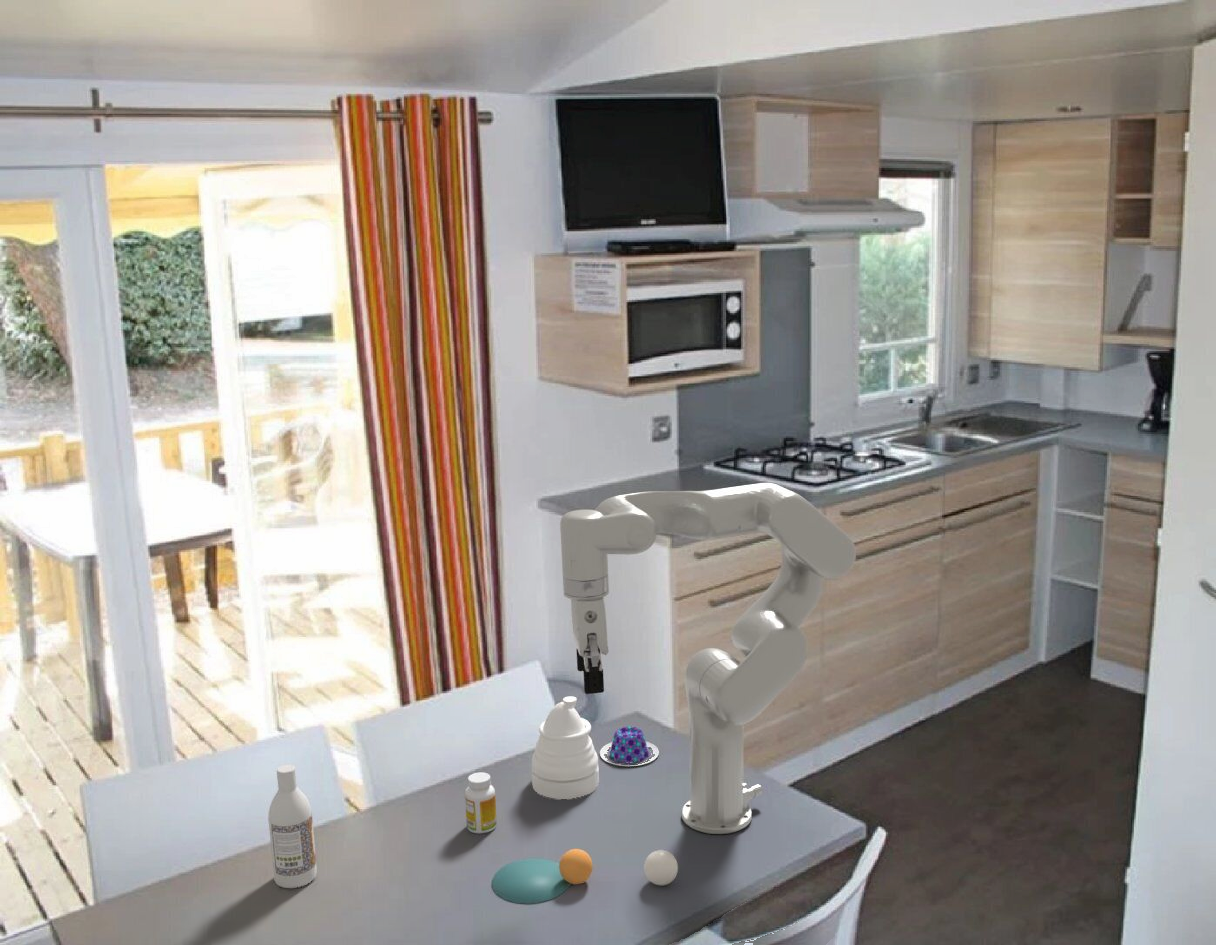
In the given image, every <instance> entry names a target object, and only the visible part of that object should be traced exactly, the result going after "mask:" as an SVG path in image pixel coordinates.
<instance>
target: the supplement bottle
mask: <svg viewBox="0 0 1216 945" xmlns="http://www.w3.org/2000/svg"><path fill="white" fill-rule="evenodd" d="M491 782H492V781H491V775H490V774H489V773H487V772H483V771H482V772H481V771H480V772H474V773H472V774H470V775H468V777H467V784H468V787H466V789H465V790H464V791H465V793H464V799H465V802H464V803H465V818H466V828H467V830H468V831H469V832H471V833H473V834H486V833H490V832H493V831H494V830H495V829H496V827H497V823H498V821H497V819H498V818H497V804H496V801H497V800H496V789H495V787H494V786H493V785H492V783H491Z"/></svg>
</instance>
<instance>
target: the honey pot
mask: <svg viewBox="0 0 1216 945" xmlns="http://www.w3.org/2000/svg"><path fill="white" fill-rule="evenodd" d="M577 701H578V700H577V697H575V696H573V695H571V696H565V697H564V698H563V699H562V701H561V702H558V703H557V704H555V705H554V706H553V708H552V709H551V710H550V711H549V713H548V715H547V717H546V719H545V721H542V723H541V724H539V727H538V732H539V736H538V739H537V741H536V744H535V749H534V753H533V754H532V756H531V784H532V785H531V786H532V789H533V790H534V791H535V793H536V792H537V794H538V795H540V796H541V795H544V796H547V797H551V798H556V799H555V800H561V799H567V800H573V799H572V798H575V799H577V798H576V797H579V798H582V797H581V796H583V797H585V796H584V795H586V796H588V795H590V794H591V793H593V792H594V791H595V790H596V789H597V788H598V787H599V784H598V783H600V775H599V774H600V772H599V756H598V754H597V751H596V750H595V746H594V744H593V740H592V738H591V737H590V736H589V734H590V733H591V731H592V725H591V723H590V722H589V720H587V719H586V718H584V717H581V716H580V715H579V712H578V711H577V710H576V708H575V706H576V704H577ZM596 787H597V788H596ZM587 794H588V795H587ZM544 796H543V797H544ZM547 797H546V798H547ZM551 798H550V799H551Z"/></svg>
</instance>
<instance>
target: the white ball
mask: <svg viewBox="0 0 1216 945" xmlns="http://www.w3.org/2000/svg"><path fill="white" fill-rule="evenodd" d="M643 867H644V869H643V870H644V874H645V876H646V878H647V880H648V881H650V882H651V883H652V884H653V885H657V886H666V885H668V884H669V885H670V883H672V882H673V881H674V880H675V879H676V877H677V874H678V871H679V865H678V861H677V859H676V857H675V856H674V854H672V853H671V852H669V851H668V850H665V849H658V850H655V851H652V852H651V853H650V854H649V855H647V857H646V858H645V862H644V866H643Z"/></svg>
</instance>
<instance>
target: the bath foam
mask: <svg viewBox="0 0 1216 945" xmlns="http://www.w3.org/2000/svg"><path fill="white" fill-rule="evenodd" d="M276 778H277V779H276V780H277V788H278V790H277V792H276V794H275V795H274V796H273V798H272V800H271V803H270V805H269V809H268V828H269V829H268V830H269V837H270V848H271V860H272V868H273V869H272V870H273V880H274V882H275V884H276V885H277V886H279V887H281V888H284V889H297V887H298V888H302V887H305V886H306V885H309V884H310V883H312V882H313V881H314V880H315V879H316V877H317V872H318V868H317V858H316V846H315V844H316V843H315V833H314V831H315V830H314V823H313V811H312V807H311V804H310V801H309V799H308V798H307V796H306V795H305V793H303V792H302V791H301V790H300V788H299V787H297V784H298V783H297V776H296V767H295V766H294V765H291V764H284V765H281V766H279V767H277V769H276ZM311 881H312V882H311ZM308 883H309V884H308ZM301 886H302V887H301Z"/></svg>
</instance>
